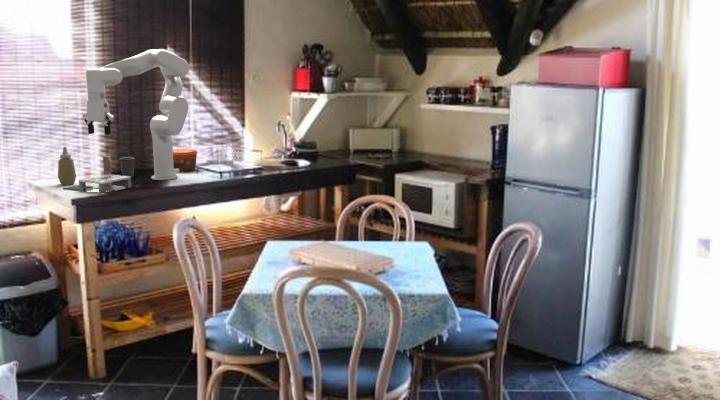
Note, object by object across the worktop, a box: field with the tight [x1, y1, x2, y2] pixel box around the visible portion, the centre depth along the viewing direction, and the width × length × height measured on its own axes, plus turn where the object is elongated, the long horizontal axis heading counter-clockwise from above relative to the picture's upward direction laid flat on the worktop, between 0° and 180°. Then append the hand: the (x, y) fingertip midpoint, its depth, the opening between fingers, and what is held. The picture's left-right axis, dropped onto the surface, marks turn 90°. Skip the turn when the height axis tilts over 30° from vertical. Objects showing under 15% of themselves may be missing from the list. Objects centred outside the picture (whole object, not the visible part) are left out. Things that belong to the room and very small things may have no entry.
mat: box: [62, 184, 94, 192], centre depth 326 cm, size 9×9×1 cm
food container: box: [173, 148, 198, 173], centre depth 379 cm, size 16×16×11 cm
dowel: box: [102, 155, 113, 180], centre depth 339 cm, size 3×3×13 cm
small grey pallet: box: [78, 174, 132, 194], centre depth 324 cm, size 18×14×5 cm
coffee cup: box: [118, 156, 136, 178], centre depth 360 cm, size 8×8×10 cm
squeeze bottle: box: [57, 146, 77, 186], centre depth 335 cm, size 8×8×18 cm
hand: (99, 134), depth 322 cm, fingers open, 9 cm apart
